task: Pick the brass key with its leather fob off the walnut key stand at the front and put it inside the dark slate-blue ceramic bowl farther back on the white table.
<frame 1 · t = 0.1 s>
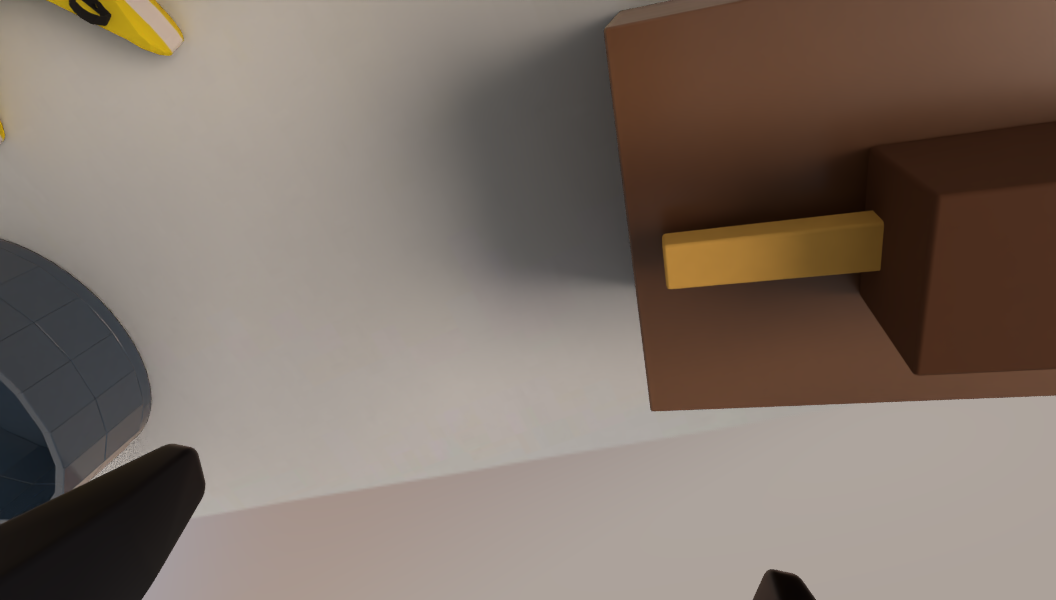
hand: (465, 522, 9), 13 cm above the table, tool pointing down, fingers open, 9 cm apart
bowl: (32, 352, 28), on the table
key stand: (858, 131, 17), on the table
key: (1001, 210, 11), point 7 cm above the table, touching key stand
game controller: (44, 17, 20), on the table
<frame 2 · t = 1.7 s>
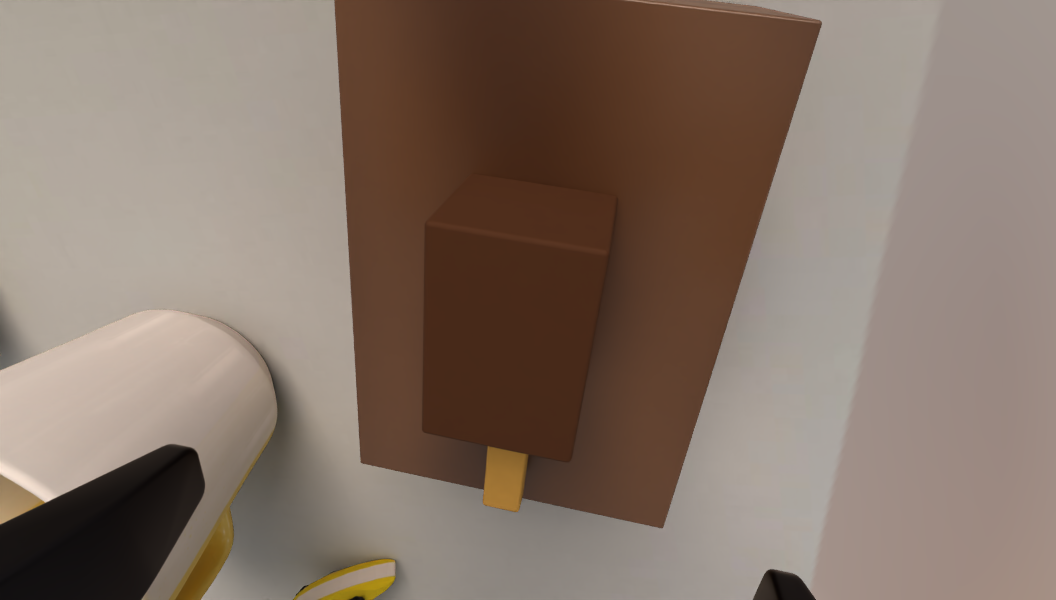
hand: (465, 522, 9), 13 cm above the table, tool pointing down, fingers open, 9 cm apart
key stand: (566, 204, 20), on the table
key: (531, 283, 13), point 7 cm above the table, touching key stand
mug: (219, 394, 28), on the table
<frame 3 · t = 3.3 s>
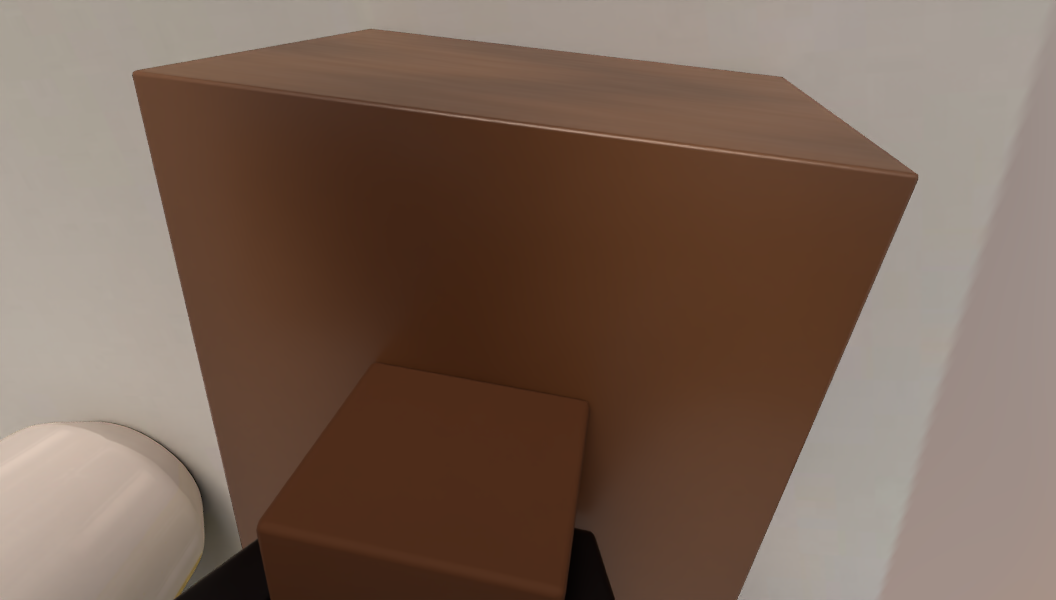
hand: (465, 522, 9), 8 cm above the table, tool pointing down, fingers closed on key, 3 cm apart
key stand: (539, 311, 16), on the table
key: (472, 496, 9), point 7 cm above the table, touching gripper, key stand
mug: (144, 503, 23), on the table
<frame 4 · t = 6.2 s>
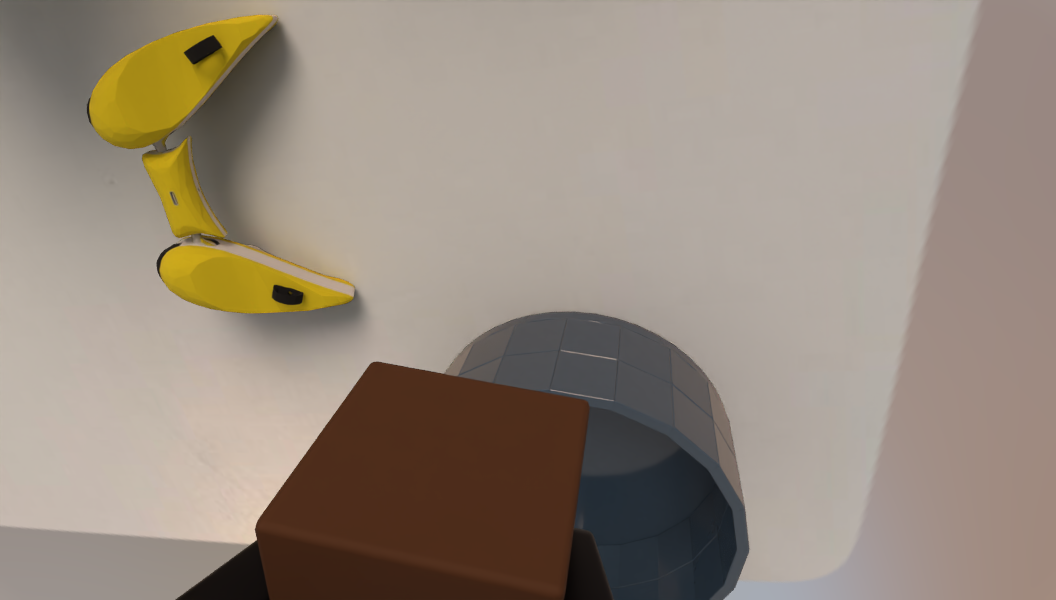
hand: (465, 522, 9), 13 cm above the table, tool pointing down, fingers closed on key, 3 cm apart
bowl: (576, 438, 25), on the table
key: (472, 496, 9), point 13 cm above the table, touching gripper
game controller: (260, 169, 22), on the table
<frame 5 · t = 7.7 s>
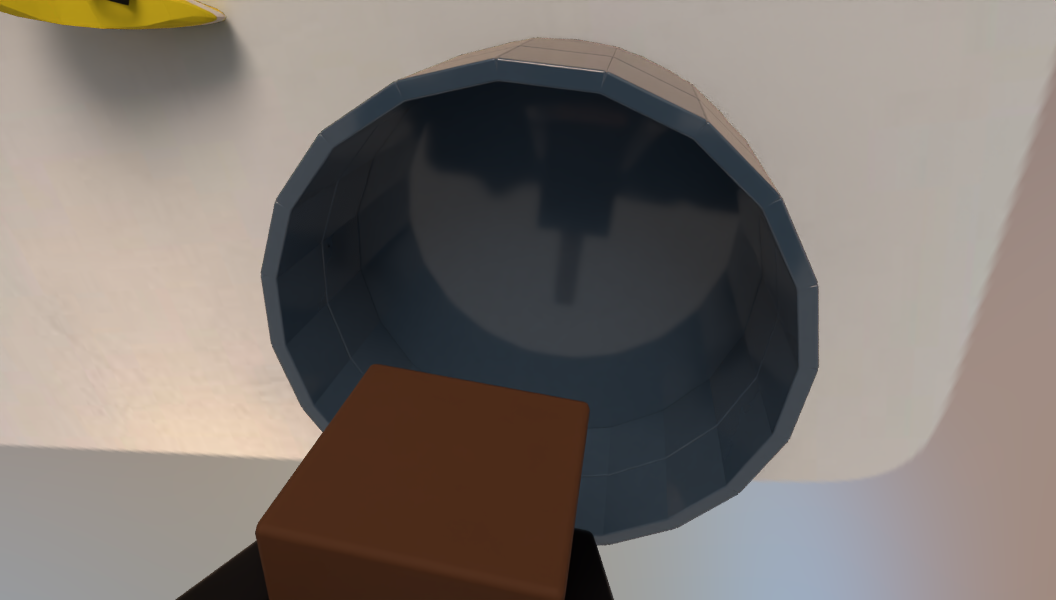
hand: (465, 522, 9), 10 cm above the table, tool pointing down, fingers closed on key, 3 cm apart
bowl: (551, 263, 18), on the table
key: (472, 498, 9), point 9 cm above the table, touching gripper
when the fingers open (5 cm above the table, at t = 9.0 s): key drops 2 cm, resting on bowl.
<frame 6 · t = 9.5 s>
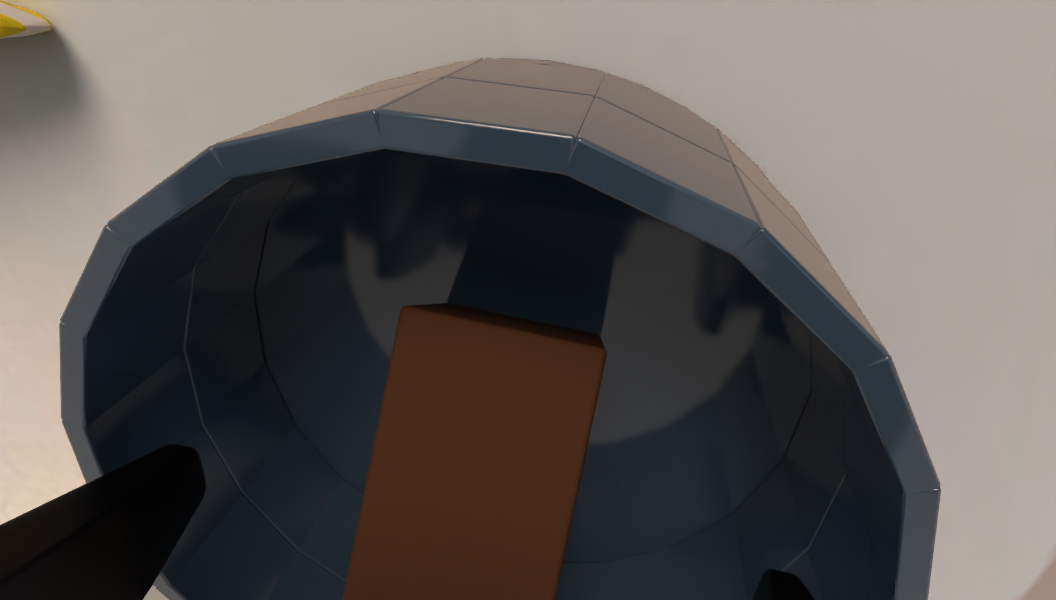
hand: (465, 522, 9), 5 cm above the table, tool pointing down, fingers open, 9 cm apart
bowl: (519, 359, 13), on the table
key: (498, 434, 12), point 2 cm above the table, tilted 28°, touching bowl
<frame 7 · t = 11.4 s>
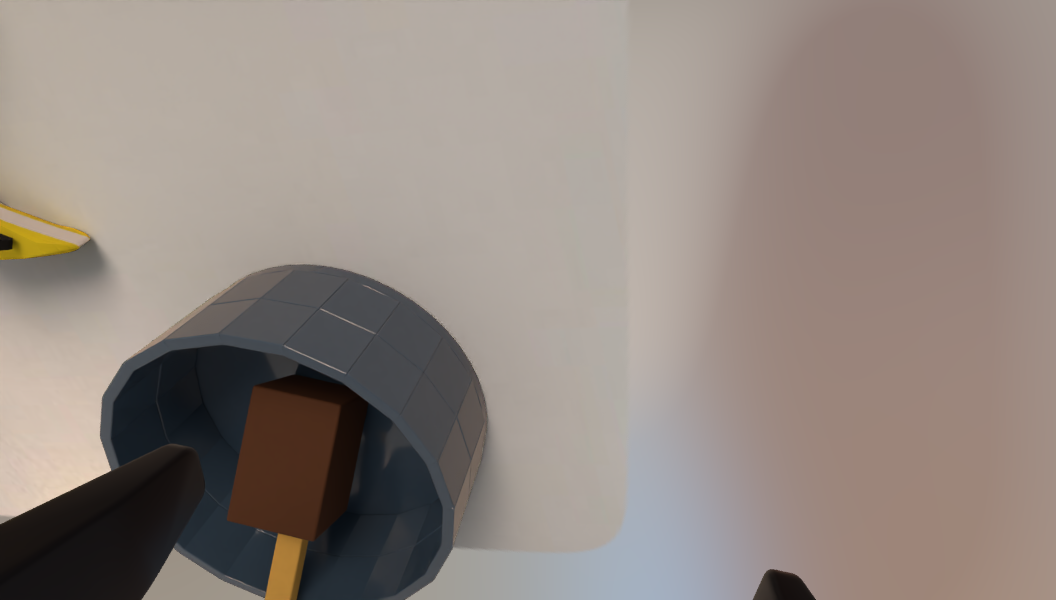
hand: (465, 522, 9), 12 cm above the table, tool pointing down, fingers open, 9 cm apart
bowl: (340, 401, 24), on the table
key: (320, 442, 23), point 2 cm above the table, tilted 28°, touching bowl
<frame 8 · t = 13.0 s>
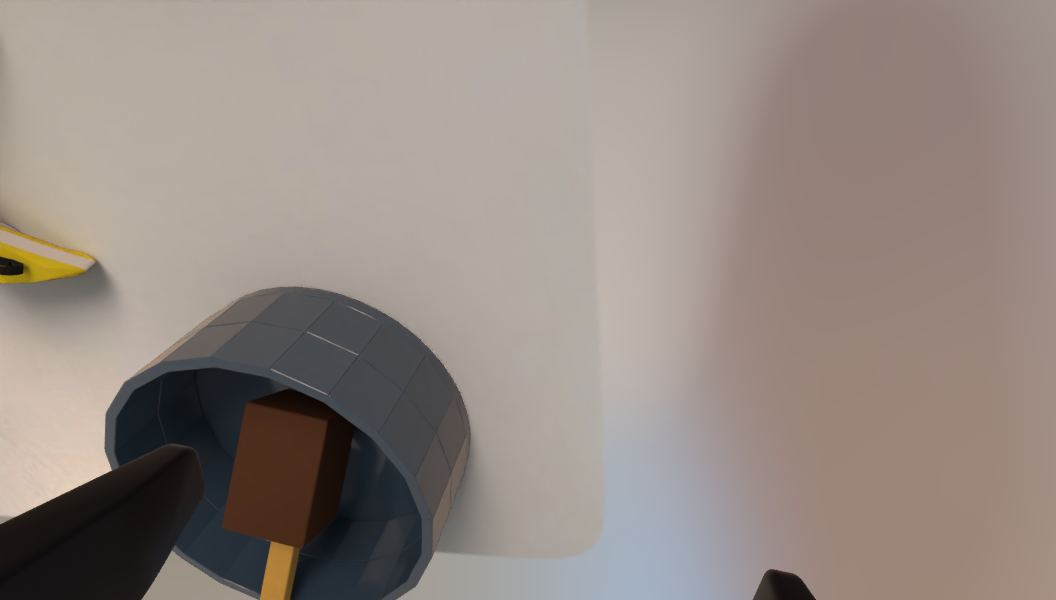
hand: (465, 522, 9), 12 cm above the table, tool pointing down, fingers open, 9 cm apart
bowl: (331, 413, 25), on the table
key: (311, 453, 24), point 2 cm above the table, tilted 28°, touching bowl
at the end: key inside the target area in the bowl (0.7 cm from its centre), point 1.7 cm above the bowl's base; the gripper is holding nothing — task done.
